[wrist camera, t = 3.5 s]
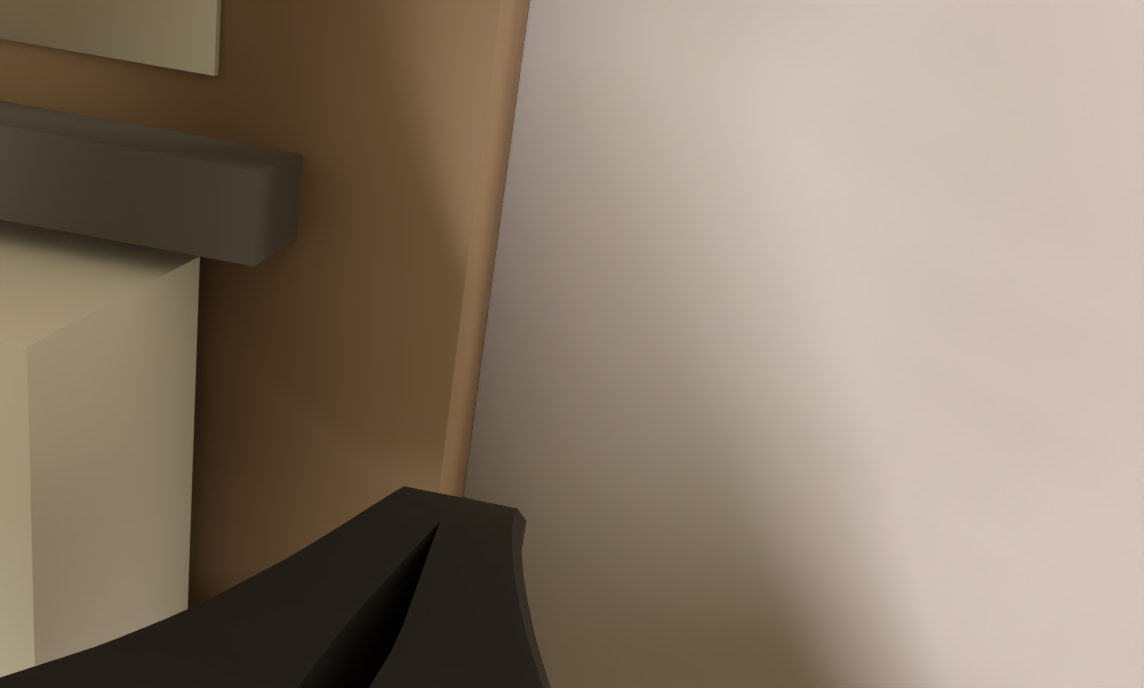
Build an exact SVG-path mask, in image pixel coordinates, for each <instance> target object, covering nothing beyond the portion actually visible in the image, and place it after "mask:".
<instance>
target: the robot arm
mask: <svg viewBox="0 0 1144 688" xmlns="http://www.w3.org/2000/svg"><path fill="white" fill-rule="evenodd" d="M525 526H526V520H525V518H524V517H523V516H522V514H521V513H520V511H519V510H518V509H517V508H512V507H507V506H502V505H497V504H492V503H487V502H482V501H477V500H472V499H467V498H462V497H457V496H451V495H446V494H441V493H436V492H431V491H426V490H421V489H416V488H411V487H406V486H403V487H401V488H400V489H398V490H396V491H395V492H393V493H391V494H390V495H388V496H387V497H385V498H383V499H382V500H380V501H379V502H377V503H375V504H374V505H372V506H371V507H369V508H367V509H366V510H364V511H363V512H361V513H360V514H358V515H356V516H355V517H353V518H352V519H350V520H349V521H347V522H345V523H344V524H342V525H341V526H339V527H337V528H336V529H334V530H333V531H331V532H329V533H328V534H326V535H325V536H323V537H321V538H320V539H318V540H316V541H315V542H313V543H311V544H310V545H308V546H306V547H305V548H303V549H301V550H300V551H298V552H296V553H295V554H293V555H291V556H290V557H288V558H286V559H284V560H283V561H281V562H279V563H277V564H275V565H273V566H271V567H269V568H267V569H265V570H264V571H262V572H260V573H258V574H256V575H254V576H252V577H250V578H248V579H246V580H245V581H243V582H241V583H239V584H237V585H235V586H233V587H231V588H229V589H227V590H226V591H224V592H222V593H220V594H218V595H216V596H214V597H212V598H210V599H208V600H206V601H204V602H202V603H200V604H197V605H195V606H193V607H191V608H189V609H187V610H184V611H182V612H180V613H178V614H175V615H173V616H171V617H169V618H166V619H164V620H161V621H159V622H156V623H154V624H152V625H149V626H147V627H144V628H142V629H139V630H137V631H134V632H132V633H129V634H127V635H124V636H122V637H119V638H117V639H114V640H112V641H109V642H106V643H104V644H101V645H98V646H95V647H93V648H90V649H86V650H83V651H80V652H77V653H74V654H71V655H68V656H65V657H62V658H59V659H55V660H52V661H49V662H46V663H43V664H40V665H37V666H34V667H31V668H28V669H25V670H21V671H18V672H15V673H12V674H9V675H6V676H3V677H0V688H550V685H549V682H548V679H547V676H546V672H545V669H544V666H543V663H542V659H541V656H540V653H539V650H538V646H537V642H536V638H535V634H534V630H533V626H532V621H531V616H530V611H529V607H528V602H527V597H526V592H525V585H524V578H523V567H522V552H521V550H522V544H523V538H524V532H525Z"/></svg>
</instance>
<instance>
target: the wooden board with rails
mask: <svg viewBox="0 0 1144 688" xmlns="http://www.w3.org/2000/svg"><path fill="white" fill-rule="evenodd" d="M529 3H530V0H0V220H6V221H11V222H16V223H22V224H27V225H33V226H38V227H43V228H49V229H54V230H60V231H65V232H70V233H76V234H81V235H87V236H92V237H97V238H103V239H108V240H114V241H119V242H124V243H130V244H135V245H140V246H146V247H151V248H157V249H162V250H167V251H173V252H178V253H184V254H189V255H194V256H200V266H199V295H198V324H197V353H196V382H195V410H194V439H193V468H192V497H191V526H190V555H189V584H188V609H189V608H191V607H193V606H195V605H197V604H200V603H202V602H204V601H206V600H208V599H210V598H212V597H214V596H216V595H218V594H220V593H222V592H224V591H226V590H227V589H229V588H231V587H233V586H235V585H237V584H239V583H241V582H243V581H245V580H246V579H248V578H250V577H252V576H254V575H256V574H258V573H260V572H262V571H264V570H265V569H267V568H269V567H271V566H273V565H275V564H277V563H279V562H281V561H283V560H284V559H286V558H288V557H290V556H291V555H293V554H295V553H296V552H298V551H300V550H301V549H303V548H305V547H306V546H308V545H310V544H311V543H313V542H315V541H316V540H318V539H320V538H321V537H323V536H325V535H326V534H328V533H329V532H331V531H333V530H334V529H336V528H337V527H339V526H341V525H342V524H344V523H345V522H347V521H349V520H350V519H352V518H353V517H355V516H356V515H358V514H360V513H361V512H363V511H364V510H366V509H367V508H369V507H371V506H372V505H374V504H375V503H377V502H379V501H380V500H382V499H383V498H385V497H387V496H388V495H390V494H391V493H393V492H395V491H396V490H398V489H400V488H401V487H403V486H406V487H411V488H416V489H421V490H426V491H431V492H436V493H441V494H446V495H451V496H457V497H462V498H463V493H464V486H465V478H466V471H467V463H468V456H469V448H470V441H471V434H472V426H473V419H474V411H475V404H476V396H477V389H478V382H479V374H480V367H481V359H482V352H483V344H484V337H485V330H486V322H487V315H488V307H489V300H490V292H491V285H492V278H493V270H494V263H495V255H496V248H497V240H498V233H499V226H500V218H501V211H502V203H503V196H504V188H505V181H506V173H507V166H508V159H509V151H510V144H511V136H512V129H513V121H514V114H515V107H516V99H517V92H518V84H519V77H520V69H521V62H522V55H523V47H524V40H525V32H526V25H527V17H528V10H529Z"/></svg>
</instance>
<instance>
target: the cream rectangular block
mask: <svg viewBox="0 0 1144 688" xmlns="http://www.w3.org/2000/svg"><path fill="white" fill-rule="evenodd" d="M199 266H200V256H194V255H189V254H184V253H178V252H173V251H167V250H162V249H157V248H151V247H146V246H140V245H135V244H130V243H124V242H119V241H114V240H108V239H103V238H97V237H92V236H87V235H81V234H76V233H70V232H65V231H60V230H54V229H49V228H43V227H38V226H33V225H27V224H22V223H16V222H11V221H6V220H0V677H3V676H6V675H9V674H12V673H15V672H18V671H21V670H25V669H28V668H31V667H34V666H37V665H40V664H43V663H46V662H49V661H52V660H55V659H59V658H62V657H65V656H68V655H71V654H74V653H77V652H80V651H83V650H86V649H90V648H93V647H95V646H98V645H101V644H104V643H106V642H109V641H112V640H114V639H117V638H119V637H122V636H124V635H127V634H129V633H132V632H134V631H137V630H139V629H142V628H144V627H147V626H149V625H152V624H154V623H156V622H159V621H161V620H164V619H166V618H169V617H171V616H173V615H175V614H178V613H180V612H182V611H184V610H187V609H188V584H189V555H190V526H191V497H192V468H193V439H194V410H195V382H196V353H197V324H198V295H199Z"/></svg>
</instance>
